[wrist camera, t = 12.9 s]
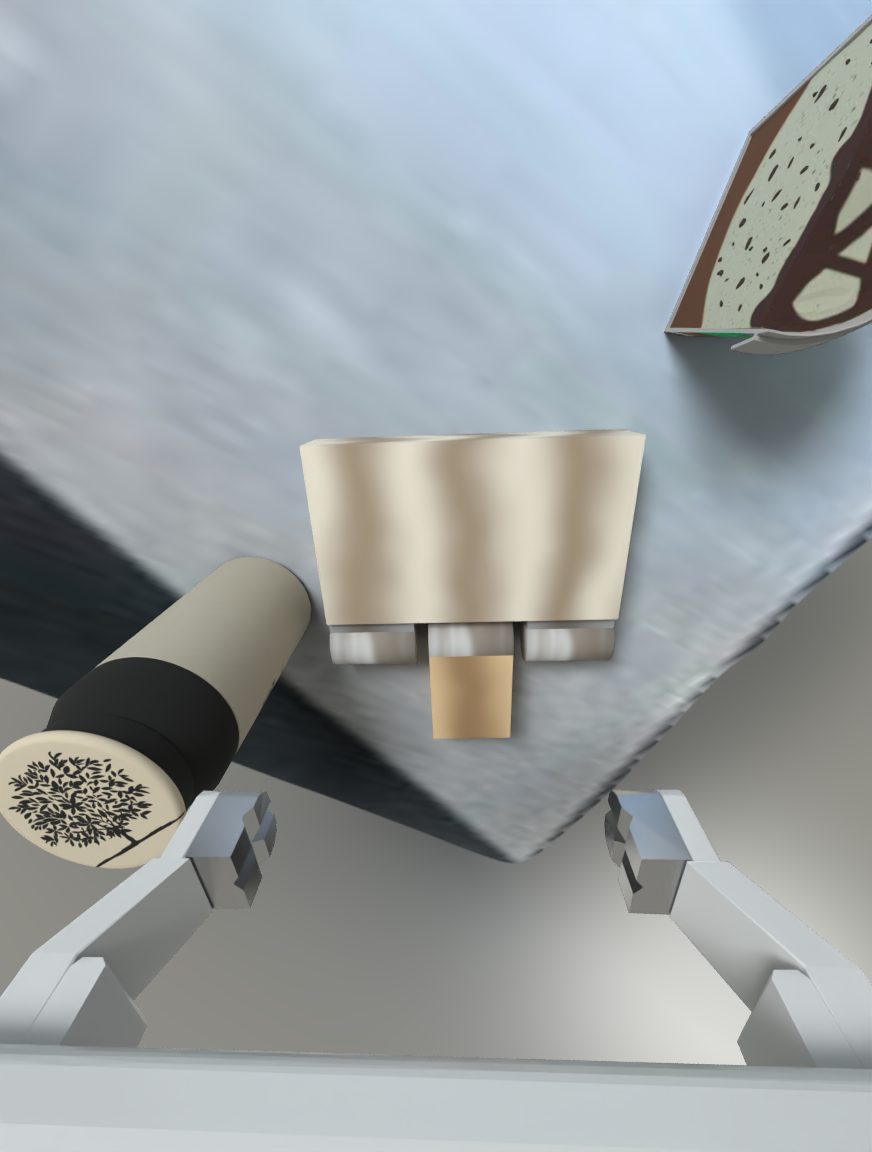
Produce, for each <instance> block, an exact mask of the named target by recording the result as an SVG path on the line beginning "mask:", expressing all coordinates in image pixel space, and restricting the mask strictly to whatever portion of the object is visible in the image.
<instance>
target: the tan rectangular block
mask: <svg viewBox="0 0 872 1152" xmlns="http://www.w3.org/2000/svg"><path fill="white" fill-rule="evenodd" d="M428 644H429V663H430V682H431V701H432V720H433V739H450V738H510V727H511V700H512V673H513V652H514V636H513V623H512V621H501V622H449V623H428Z"/></svg>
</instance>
